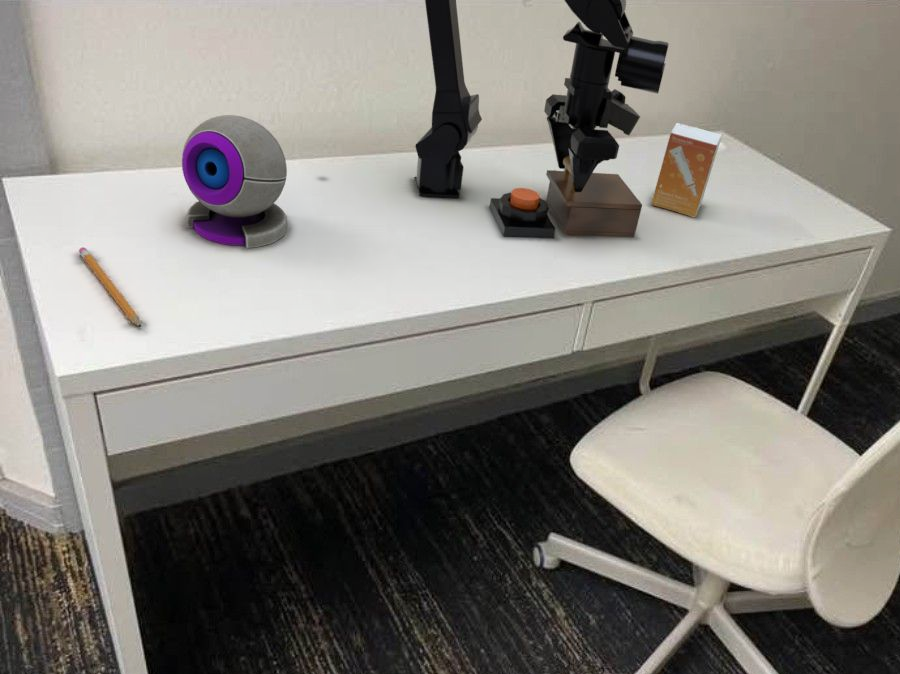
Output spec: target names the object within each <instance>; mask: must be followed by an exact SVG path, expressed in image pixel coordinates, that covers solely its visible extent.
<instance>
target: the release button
mask: <svg viewBox="0 0 900 674" xmlns="http://www.w3.org/2000/svg"><path fill="white" fill-rule="evenodd" d="M510 193H511V198H510V204H512V205H513V206H515V207H518V208H521V209H528V210H533V209H537V208H538V205H539V199H540V198H541V195H540V194H539V192H537V191H536V190H533V189H530V188H525V187H516V188H513V189H512V190H511V192H510Z"/></svg>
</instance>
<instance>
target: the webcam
mask: <svg viewBox="0 0 900 674" xmlns="http://www.w3.org/2000/svg"><path fill="white" fill-rule="evenodd" d="M181 155H182V158H181V169H182V170H181V171H182V174H183V178H184V182H185V183H186V185H187V188H188V189H189V191H190V192H191V194H192V196H194V198H195V199H196V200H197V201H196V202H195V203H194V204H193V205H191V206H190V207H189V208H188V209H187V213H186V228H187V229H194V231H195V232H196V233H197V234H198V235H199V236H201V237H203V238H204V239H206V240H208V241H211V242H214V243H216V244H217V243H218V244H222V245H227V246H245V248H246V249H250V248H258V247H263V246H267V245H270V244H273V243H276V242H277V241H279V240H281V239H282V238H283V237H284V236H285V235H286V234H287V231H288V217H287V214H286V213H285V211H284V210H283V208H281V207H280V206H279V205H277V204H276V203H275V202H277V200H278V199H279V197H280V196H281V195H282V192H283V190H284V188H285V185H286V181H287V176H288V175H287V174H288V170H287V169H288V168H287V161H286V160H287V159H286V157H285V154H284V150H283V149H282V146H281V144H280V143H279V141H278V140H277V138H276V137H275V136H274V135H273V133H271V132H270V130H268V129H267V128H266V127H265V126H263V125H262V124H260V123H259V122H257V121H255V120H254V119H251V118H247V117H245V116H241V115H235V114H223V115H218V116H217V115H216V116H214V117H210V118H208V119H206V120H204V121H203V122H202V123H199V125H198V126H196V127H195V128H194V129H193V130H192V131H191V132H190V134H189V135H188V137H187V139H186V141H185V143H184V146H183V150H182V154H181Z"/></svg>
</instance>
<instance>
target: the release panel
mask: <svg viewBox="0 0 900 674" xmlns="http://www.w3.org/2000/svg"><path fill="white" fill-rule="evenodd" d="M510 198H511V192H507V193H503V194H502V196H501V197H500V198H499V197H498V198H497V197H491V198H490V201H489V210H490V212H491V214H492V216H493V218H494V220H495V223H496V224H497V226H498V229H499V230H500V233H501V235H502V237H503V238H528V239H555V233H556V227H555V225H554V223H553V222H552V219H550V217H549V215H548V212H549V206H548V204H547V203H546V200H545V199H544V198H541V197H540V199H539V205H538V208H537V209H533V210H528V209H521V208H518V207H515V206H513V205H512V204H510Z"/></svg>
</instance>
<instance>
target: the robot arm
mask: <svg viewBox="0 0 900 674" xmlns="http://www.w3.org/2000/svg"><path fill="white" fill-rule="evenodd" d="M564 2H565V4H566V5H567V6H568V8H569V9H570V11H571V12H572V13H573V14H574V16H576V17H577V18H578V19H579V21H577V22H576V23H575V25H574V26H573V27H572V28H570V29H568V30H567V31H566V32H565V33H564V34H563V37H562V40H563V41H565V42H568V43H573V44H575V48H574V52H573V53H574V54H573V59H572V63H571V69H570V74H569V77H564V83H563V86H565V88H566V89H567V91H566V94H565V95H564V94H555V93H553V94H551V95H550V96H548V97H547V98H546V99H545V105H544V110H543V112H544V113H545V115H546V121H547V125H548V128H549V132H550V136H551V141H552V144H553V149H554V153H555V157H556V162H557V167H558V169H560V170H565V165H564V164H563V160H564V158H565V157H567V156H570V163H571V171H572V179H573V186H574V191H575V192H582V190H583V188H584V187H585V185H586V183H587V181H588V180H589V178H590V176H591V174H592V173H594V171H595V170H596V168H597V166H598V165H599V164H601V163H603V162H607V161H610V160H616V159H617V158H618V154H619V150H620V145H619V143H618V141H617V140H616V138H615V137H614V136H613V135H612V134H611V132H609V130H608V127H609V126H611V127H614V128H616V129H618V130H620V131H622V133H623V134H624V135H626V136H630V135H631V134H632V132H633V130H634V128H635V127H636V125H637V124H638V122H639V120H640V119H641V115H640V114H638V112H637V111H636V110H634V108H633V107H632V106H630V105H629V104H628V103H626V95H625V94H624V93H623V92H621V91H619V90H617V89H616V88H613V90H611V89H609V83H610V79H611V75H612V69H613V65H614V60H615V55H616V53H617V54H618V58H617V62H616V67H615V73H614V77H615V78H617V81H618V82H620V86H621V87H626V88H631V89H635V90H640V91H644V92H648V93H653V94H657V95H658V94H659V92H660V88H661V84H662V80H663V77H664V76H663V75H664V71H665V67H666V63H665V62H666V58H667V53H668V49H669V42H667V41H663V40H651V39H647V38H642V37H638V36H634V31H633V28H632V26H631V23H630V21H629V19H628V17H627V14H626V12H625V11H626V6H627V0H564ZM424 4H425V12H426V20H427V28H428V36H429V44H430V53H431V59H432V68H433V75H434V77H433V78H434V84H435V85H434V86H435V92H434V93H435V94H434V100H433V104H432V105H433V106H432V112H431V126H430V129H428V131H426V132H425V134H424V135H423V136H422V137H421V138H420V139H419V140H418V141H417V142H416V144H415V151H416V154H417V166H416V176H414V177H413V182H414V184H415V188H416V190H417V193H418V195H419V197H424V198H425V197H428V198H449V199H459V198H460V195H461V194H460V192H459V191H461V190H462V185H463V184H462V183H463V176H464V175H463V174H464V164H463V162H462V156H461V154H460V151H462V150H464V148H466V146H467V144H468V143H469V142H470V141H471V139H472V138H473V137H475V135H476V133H477V131H478V128H479V124H480V123H481V122H482V120H483V118H482V116H481V113H480V109H479V108H480V106H479V105H480V94H477V93H476V94H472V95H471V94H470V91H469V90H468V88H467V86H466V82H465V73H464V63H463V54H462V45H461V36H460V35H461V34H460V26H459V16H458V7H457V0H424ZM582 24H583V25H584V26H585V27H584V26H583V25H582ZM586 28H587V29H586ZM604 38H605V39H604ZM597 127H599V128H601V129H597Z"/></svg>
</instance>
